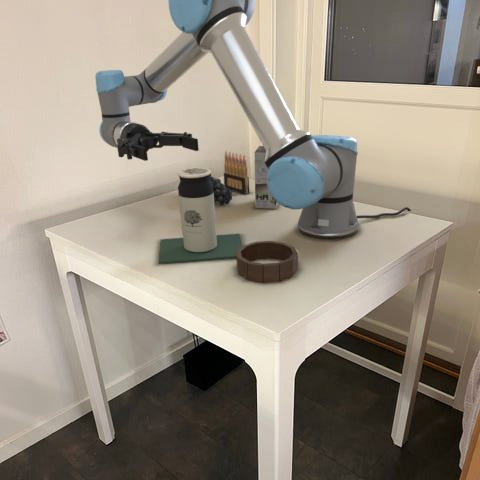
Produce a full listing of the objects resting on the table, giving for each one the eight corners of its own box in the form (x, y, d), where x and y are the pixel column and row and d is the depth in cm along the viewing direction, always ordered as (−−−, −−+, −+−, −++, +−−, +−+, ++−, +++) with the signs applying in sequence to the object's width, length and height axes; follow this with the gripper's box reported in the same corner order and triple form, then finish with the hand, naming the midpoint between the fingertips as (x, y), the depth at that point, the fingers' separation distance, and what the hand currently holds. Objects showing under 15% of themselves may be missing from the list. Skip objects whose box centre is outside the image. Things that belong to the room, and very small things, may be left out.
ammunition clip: (224, 188, 161) (221, 151, 155) (228, 187, 162) (226, 150, 156) (245, 194, 154) (244, 155, 148) (249, 193, 155) (248, 154, 149)
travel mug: (196, 238, 121) (190, 165, 112) (223, 243, 118) (218, 169, 108) (177, 249, 115) (169, 174, 106) (205, 255, 112) (198, 177, 103)
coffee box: (276, 209, 140) (276, 152, 132) (254, 208, 141) (253, 151, 133) (280, 199, 148) (280, 144, 139) (259, 199, 149) (259, 144, 141)
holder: (290, 255, 112) (290, 239, 110) (302, 279, 101) (302, 262, 99) (234, 259, 111) (234, 243, 109) (240, 284, 100) (239, 267, 98)
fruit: (235, 174, 140) (203, 165, 149) (215, 189, 137) (183, 179, 146) (243, 200, 146) (211, 189, 155) (224, 215, 143) (192, 203, 152)
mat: (239, 235, 123) (239, 233, 123) (245, 257, 112) (245, 255, 111) (161, 241, 122) (160, 239, 122) (158, 264, 110) (158, 261, 110)
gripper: (176, 145, 135) (217, 157, 120) (91, 160, 123) (125, 175, 108) (173, 116, 132) (215, 125, 116) (84, 129, 120) (119, 140, 104)
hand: (172, 149), depth 112 cm, fingers open, 13 cm apart
